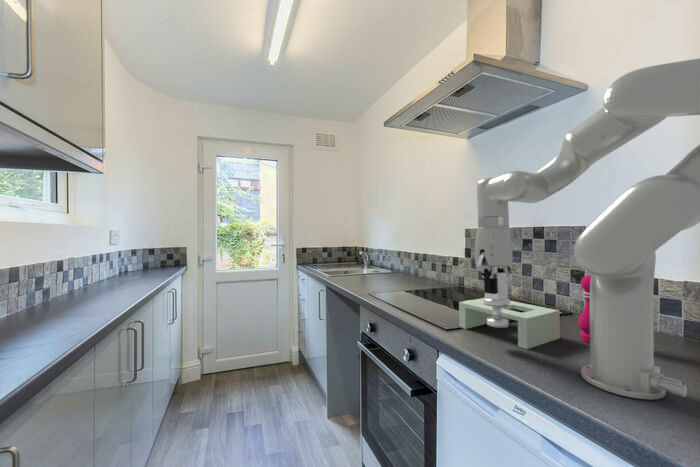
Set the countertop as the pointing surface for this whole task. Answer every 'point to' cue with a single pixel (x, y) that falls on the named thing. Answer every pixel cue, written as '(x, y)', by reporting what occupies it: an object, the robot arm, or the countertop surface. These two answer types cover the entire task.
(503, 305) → the steel peg
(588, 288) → the pepper mill
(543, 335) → the keyhole bracket
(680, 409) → the countertop surface
